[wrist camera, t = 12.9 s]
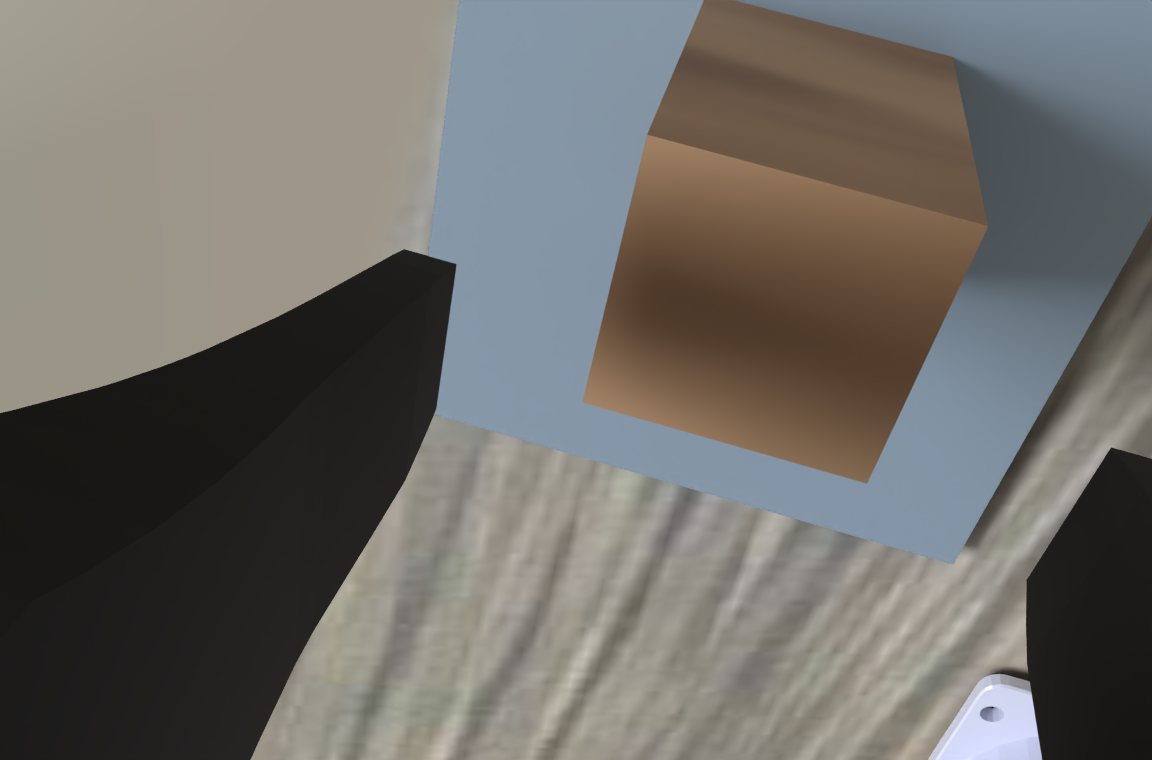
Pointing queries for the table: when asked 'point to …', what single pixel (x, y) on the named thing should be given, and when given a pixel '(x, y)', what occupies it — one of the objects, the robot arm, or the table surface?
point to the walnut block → (790, 239)
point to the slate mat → (604, 191)
